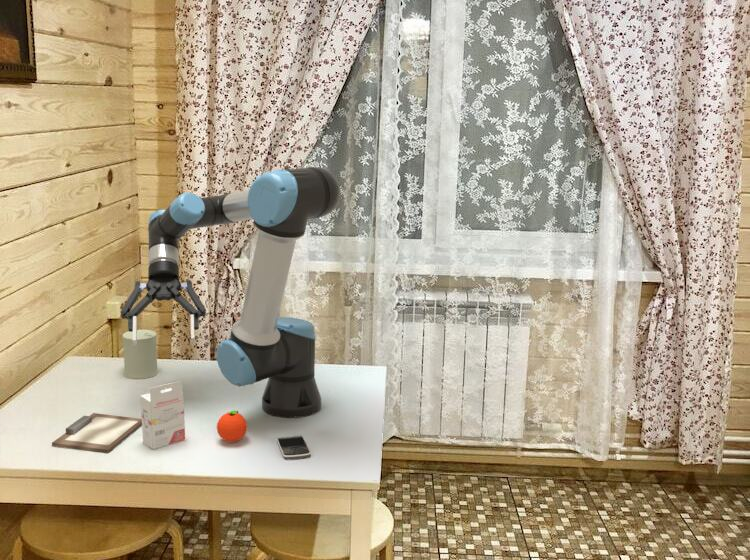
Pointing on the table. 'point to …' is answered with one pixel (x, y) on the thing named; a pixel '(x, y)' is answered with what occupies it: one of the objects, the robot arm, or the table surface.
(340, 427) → the table surface
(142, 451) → the table surface
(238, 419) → the clementine
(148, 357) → the can
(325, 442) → the table surface
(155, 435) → the ink cartridge box
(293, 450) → the cell phone
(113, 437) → the clipboard
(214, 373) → the table surface
